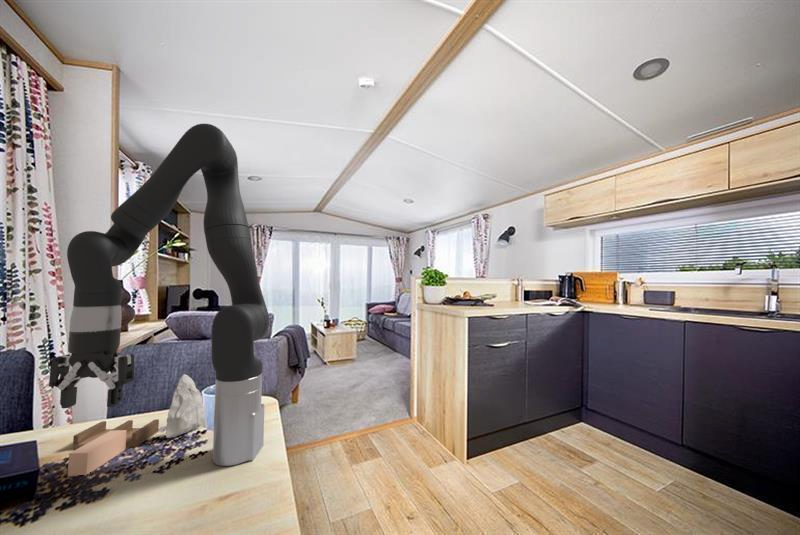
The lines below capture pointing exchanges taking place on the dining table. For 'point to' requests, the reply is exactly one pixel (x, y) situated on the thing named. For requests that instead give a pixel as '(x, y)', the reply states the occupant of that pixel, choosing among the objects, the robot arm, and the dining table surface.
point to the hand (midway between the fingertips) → (91, 406)
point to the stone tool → (185, 408)
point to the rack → (132, 434)
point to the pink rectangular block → (96, 453)
